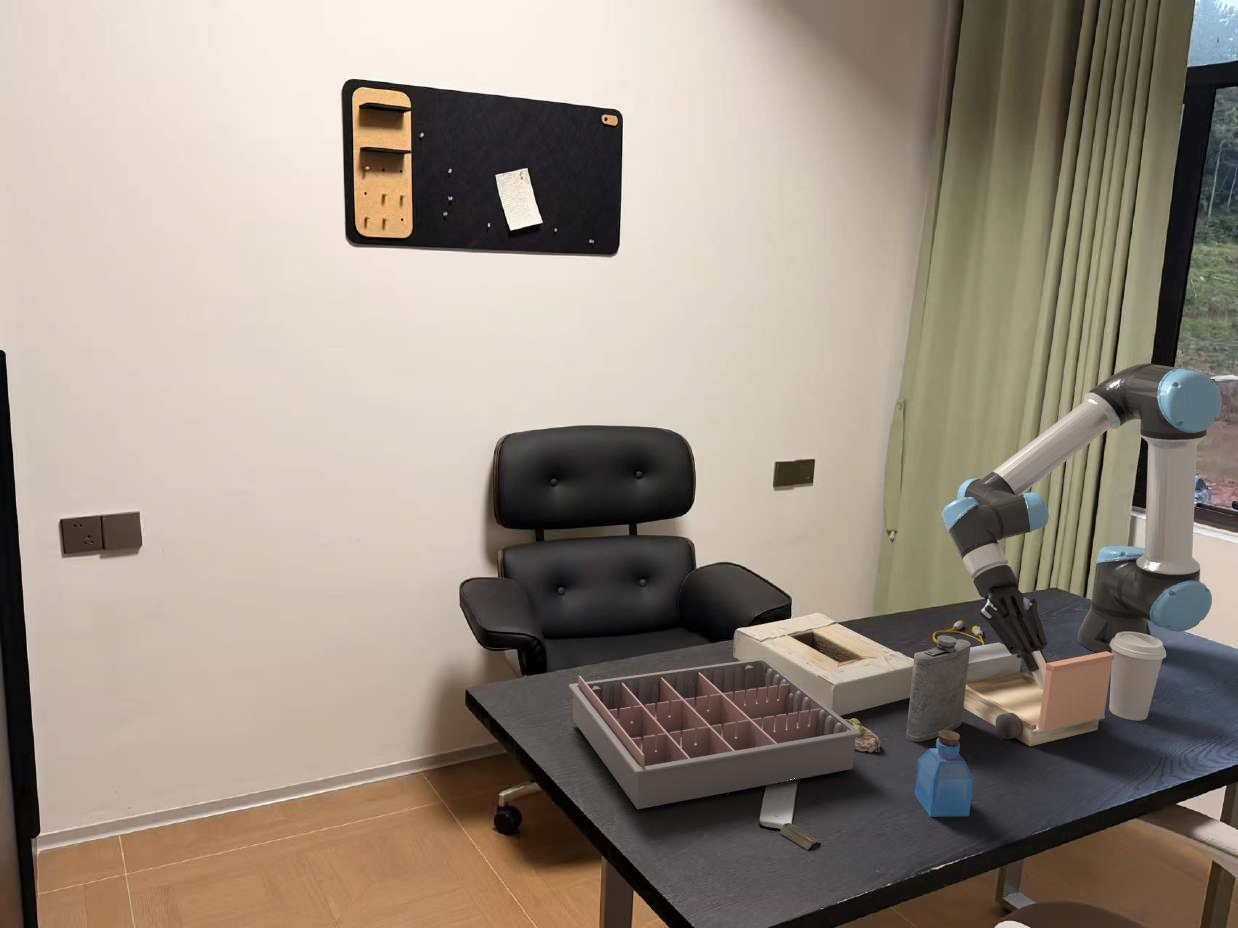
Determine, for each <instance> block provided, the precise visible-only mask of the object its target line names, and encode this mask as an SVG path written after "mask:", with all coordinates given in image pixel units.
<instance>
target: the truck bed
mask: <svg viewBox="0 0 1238 928" xmlns="http://www.w3.org/2000/svg"><path fill="white" fill-rule="evenodd" d="M1016 656H1017V654H1015V655H1012V654H1011V653H1010V652H1009V651H1008V649H1007V648H1006V646H1005V645H1004V644H1003V643H1002V642H994V643H989V644H985V645H983V644H982V645H977V646H970V655H969V663H968V672H967V681H966V690H965V698H964V707H963V709H965V711H966V710H967V711H968V712H970V713H972V714H974V715H975V716H976V717H979V718H980V719H981V720H984V721H985V722H987V723H988V724H990V725H992V726H994V727H995V729H996V730H997V733H998V734H999V736H1000V737H1001V738H1003V739H1004V740H1012V739H1016V740H1018V741H1020V742H1021V743H1023V744H1025V745H1026V746H1029V747H1032V746H1036V745H1040V744H1045V743H1048V742H1053V741H1057V740H1061V739H1065V738H1071V737H1073V736H1077V735H1082V734H1086V733H1091V732H1094V731H1098V728H1099V721H1100V720H1096V721H1092V722H1087V723H1083V724H1079V725H1075V726H1070V727H1066V728H1062V729H1058V730H1054V731H1049V732H1045V733H1041V734H1037V735H1034V734H1033V733H1032V730H1034V729H1038V726H1039V719H1040V711H1041V704H1042V696H1043V690H1040V688H1039V686H1038V684H1037V682H1036V680H1035V678H1034V676H1033V675H1031V674H1029V673H1028V672H1027V669H1026V668H1025V665H1024V664H1023V663H1022V658H1020V659H1019V658H1017V657H1016Z"/></svg>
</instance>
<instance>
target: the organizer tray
mask: <svg viewBox="0 0 1238 928" xmlns="http://www.w3.org/2000/svg"><path fill="white" fill-rule="evenodd" d="M568 688H569V689H570V690H571V691H572V693H573V695H572V698H573V699H572V721H574V723H575V725H576V726H577V727H578V729H579V730H580V732H581V733H582V734H583V736H584V737H585V739H586V740H587V742H588V743H589V744H590V745H591V747H592V748H593V750H594V751H595V752H596V753H597V755H598V756H599V758H600V759H601V761H602V763H604V765H605V766H606V767H607V770H608V771H609V772H610V773H611V774H612V776H613V778H614V779H615V780H616V782H617V783H618V784H619V786H620V787H621V789H622V790H623V791H624V793H625V795H626V796H627V797H628V798H629V799H630V801H631V803H632V804H633V805H634V807H635V809H637V810H641V809H642V810H643V809H645V808H646V809H647V808H652V807H657V806H661V805H662V806H663V805H667V804H672V803H677V802H683V801H688V800H693V799H699V798H703V797H705V798H706V797H710V796H714V795H715V796H716V795H720V794H725V793H726V794H729V793H731V792H736V791H742V790H746V789H753V788H758V787H762V786H768V784H769V785H774V784H778V782H780V783H784V781H785V782H788V781H787V780H790V779H794V778H795V779H796V780H799V779H805V778H806V779H807V778H812V777H816V776H821V775H827V774H833V773H837V772H842V771H843V772H844V771H849V770H853V769H854V758H855V751H856V750H855V738H856V736H859V735H862V734H861V732H859V731H858V730H857V729H856V728H854V727H853V726H852V725H850V724H849V723H848V722H847V721H845V720H844V718H843V717H842V718H841V716H839V715H837V714H836V713H835V712H834V711H832V710H831V709H830V708H828V707H827V706H826V705H825V704H823V703H822V702H821V701H819V700H818V699H817V698H816V697H814V696H813V695H812V694H810V693H809V692H808V691H807V690H805V689H804V688H803V687H801V686H800V685H799V684H798V683H796V682H795V681H794V680H792V679H791V678H790V677H789V676H787V675H786V674H785V673H783V672H782V671H781V670H779V669H778V668H777V667H776V666H774V665H773V664H772V663H770V662H769V661H768V660H767V659H765V658H761V659H753V660H746V661H740V660H738V661H732V662H725V663H716V664H710V665H703V666H695V667H694V666H693V667H689V668H688V667H687V668H679V669H672V670H665V671H658V672H651V673H650V672H649V673H643V674H636V675H635V674H634V675H627V676H620V677H613V678H607V679H600V680H599V679H598V680H597V679H596V680H592V681H591V680H590V681H585V680H584V678H583V677H582V676H581V675H578V681H577V682H575V683H569V684H568ZM790 781H791V780H790Z"/></svg>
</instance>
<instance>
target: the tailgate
mask: <svg viewBox="0 0 1238 928" xmlns="http://www.w3.org/2000/svg"><path fill="white" fill-rule="evenodd" d="M1112 660H1114V654H1112V653H1109V652H1107V651H1106V652H1101V653H1097V652H1095V653H1092V654H1091V653H1090V654H1087V655H1082V656H1076V657H1071V658H1067V659H1061V660H1057V661H1052V662H1048V663H1046V673H1045V681H1044V688H1043V696H1042V704H1041V711H1040V719H1039V726H1038V729H1034V730H1032V733H1033V734H1034V735H1037V734H1041V733H1045V732H1049V731H1054V730H1058V729H1062V728H1066V727H1070V726H1075V725H1079V724H1083V723H1087V722H1092V721H1096V720H1099V721H1100V720H1104V719H1105V718H1106V715H1105V711H1106V706H1107V705H1106V703H1107V698H1108V692H1109V691H1108V690H1109V685H1110V684H1109V683H1110V679H1111V664H1112Z"/></svg>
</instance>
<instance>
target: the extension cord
mask: <svg viewBox="0 0 1238 928" xmlns="http://www.w3.org/2000/svg"><path fill="white" fill-rule="evenodd" d="M964 626H965V622H964V620H958V621H956V622H954V623H953V627H952V628H950V629H947V630H937V631H934V632H933V634H932V641H933V642H934V643H936V644H937V645H938V642H937V639H936V636H937V635H939V634H941V633H953V634H954V633H956V634H962V635H964V636H967V637H969V638H973V639H974V640H976V641H979V643H980V642H981V644H982V645H986V643H985V642H984V640H983V638H982V637H983V635H984V633H983V631H982V630H983V629H982V627H981V626H978V625H974V626H972V628H971V629H970V630H971V632H972V633H973V634H974V636H973V635H970V634H968V633H964V632H961V629H962V628H963V627H964Z"/></svg>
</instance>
